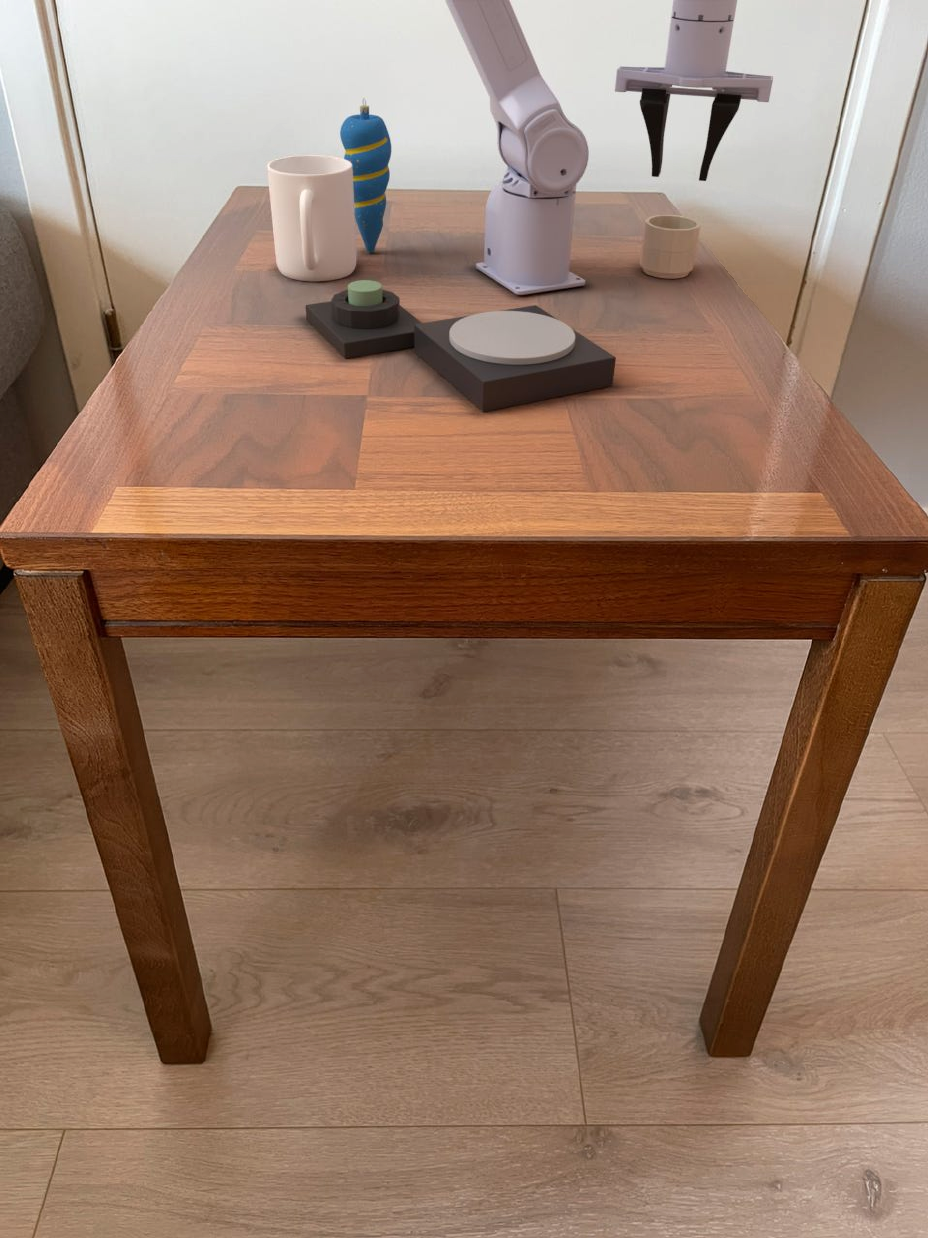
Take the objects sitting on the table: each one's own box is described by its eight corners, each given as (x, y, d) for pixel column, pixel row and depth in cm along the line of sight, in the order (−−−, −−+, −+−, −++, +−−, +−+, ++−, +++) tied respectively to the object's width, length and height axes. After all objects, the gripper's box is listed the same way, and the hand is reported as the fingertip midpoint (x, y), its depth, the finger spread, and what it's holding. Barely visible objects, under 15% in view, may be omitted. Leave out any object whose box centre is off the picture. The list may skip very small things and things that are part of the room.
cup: (358, 256, 105) (354, 155, 99) (353, 295, 96) (348, 185, 89) (281, 256, 105) (272, 153, 99) (268, 294, 95) (256, 184, 89)
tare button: (343, 299, 87) (342, 282, 86) (374, 295, 88) (374, 278, 87) (355, 310, 85) (355, 293, 84) (387, 305, 86) (387, 288, 85)
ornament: (357, 261, 104) (349, 104, 95) (339, 248, 107) (330, 95, 98) (401, 255, 106) (398, 101, 97) (382, 242, 109) (377, 92, 100)
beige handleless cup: (628, 266, 104) (634, 217, 101) (671, 260, 107) (678, 212, 103) (659, 282, 101) (666, 232, 98) (703, 275, 103) (711, 226, 100)
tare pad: (306, 319, 90) (303, 287, 88) (386, 307, 93) (385, 275, 91) (345, 358, 83) (343, 324, 81) (430, 344, 86) (430, 311, 84)
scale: (414, 352, 85) (413, 317, 83) (534, 331, 89) (536, 297, 87) (482, 412, 75) (483, 374, 74) (612, 386, 80) (617, 349, 78)
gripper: (617, 18, 88) (601, 179, 96) (783, 27, 85) (751, 192, 93) (628, 10, 93) (612, 163, 102) (784, 18, 90) (754, 175, 99)
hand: (679, 176), depth 98 cm, fingers open, 4 cm apart
